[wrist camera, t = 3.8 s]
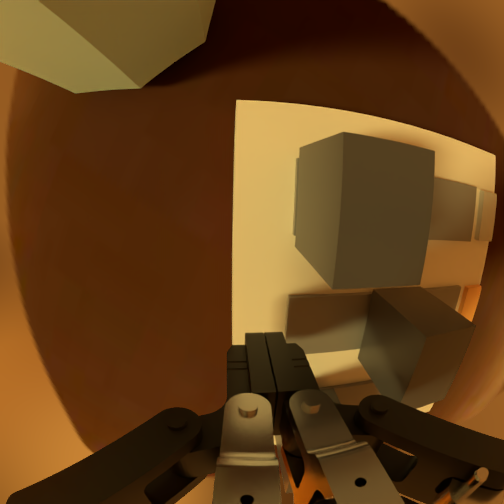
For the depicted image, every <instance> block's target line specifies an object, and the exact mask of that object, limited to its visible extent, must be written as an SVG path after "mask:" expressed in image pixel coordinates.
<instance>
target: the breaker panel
mask: <svg viewBox="0 0 504 504" xmlns="http://www.w3.org/2000/svg"><path fill="white" fill-rule="evenodd" d="M341 132H349V133H355V134H361V135H367V136H372V137H377V138H382V139H387V140H392V141H397V142H401V143H406V144H410V145H414V146H418V147H422V148H426V149H430V150H433V151H435V173H434V191H433V204H432V214H431V223H430V231H429V238H428V245H427V251H426V257H425V263H424V268H423V273H422V278H421V283H420V285H413V286H398V287H380V288H359V289H334V290H332V289H331V288H330V287H329V285H328V284H327V283H326V282H325V281H324V280H323V278H322V277H321V276H320V275H319V274H318V273H317V271H316V270H315V269H314V268H313V267H312V266H311V265H310V263H309V262H308V261H307V260H306V259H305V258H304V257H303V255H302V254H301V253H300V252H299V251H298V250H297V249H296V247H295V237H296V220H297V201H298V178H299V148H300V147H303V146H305V145H308V144H311V143H313V142H316V141H319V140H322V139H324V138H327V137H330V136H333V135H336V134H338V133H341ZM494 191H495V155H493V154H491V153H488V152H486V151H484V150H481V149H479V148H476V147H474V146H471V145H469V144H466V143H464V142H461V141H458V140H455V139H453V138H450V137H447V136H444V135H441V134H438V133H435V132H432V131H428V130H425V129H422V128H418V127H415V126H411V125H408V124H404V123H400V122H396V121H392V120H388V119H384V118H379V117H375V116H370V115H365V114H360V113H355V112H350V111H344V110H338V109H332V108H325V107H318V106H310V105H302V104H292V103H281V102H268V101H249V100H237V101H236V112H235V141H234V178H233V233H232V345H245V333H255V332H263V333H264V332H283V334H284V337H285V340H286V343H296V344H297V345H299V346H300V347H301V348H302V349H303V350H304V352H305V355H306V357H307V360H308V362H309V364H310V367H311V369H312V372H313V374H314V377H315V379H316V382H317V384H318V386H319V389H320V390H321V389H329V388H334V390H335V392H336V394H337V396H338V399H339V401H340V403H341V404H344V405H359V403H360V402H361V400H362V399H363V398H365V397H367V396H370V395H381V394H380V392H379V391H378V389H377V388H376V386H375V384H374V383H373V381H372V380H371V378H370V377H369V375H368V374H367V372H366V370H365V369H364V367H363V366H362V364H361V363H360V361H359V360H358V354H359V351H360V347H361V343H362V339H363V334H364V330H365V326H366V321H367V317H368V312H369V307H370V302H371V297H372V292H373V289H385V288H401V287H416V286H421V287H422V288H424V289H425V290H427V291H428V292H429V293H431V294H432V295H434V296H435V297H437V298H438V299H440V300H441V301H443V302H444V303H445V304H447V305H448V306H450V307H451V308H453V309H454V310H455V311H457V312H458V313H460V314H461V315H462V316H464V317H465V318H467V319H468V320H469V321H471V322H472V319H473V316H474V313H475V310H476V306H477V303H478V300H479V296H480V292H481V289H482V286H480V282H481V278H482V273H483V269H484V264H485V259H486V254H487V249H488V243H489V241H492V236H493V229H494V221H495V213H496V202H497V194H494ZM433 404H434V403H432V404H429V405H426V406H423V407H420V408H417V410H420V411H422V412H428V411H430V409H431V407H432V405H433ZM274 445H276V439H275V436H274Z"/></svg>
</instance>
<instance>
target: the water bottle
mask: <svg viewBox="0 0 504 504" xmlns="http://www.w3.org/2000/svg"><path fill="white" fill-rule="evenodd" d="M215 2H216V0H0V62H2V63H5V64H7V65H10V66H12V67H15V68H18V69H20V70H23V71H25V72H27V73H30V74H32V75H35V76H37V77H40V78H42V79H44V80H47V81H49V82H51V83H53V84H56V85H58V86H60V87H62V88H65V89H67V90H69V91H71V92H73V93H83V92H92V91H103V90H116V89H137V88H142V87H143V86H144V85H145V84H147V83H148V82H149V81H150V80H152V79H153V78H154V77H155V76H157V75H158V74H159V73H161V72H162V71H163V70H165V69H166V68H167V67H169V66H170V65H171V64H173V63H174V62H176V61H177V60H178V59H180V58H181V57H183V56H184V55H186V54H187V53H189V52H190V51H192V50H193V49H195V48H196V47H198V46H199V45H201V44H202V43H204V42H205V41H206V37H207V33H208V28H209V24H210V20H211V16H212V13H213V9H214V5H215Z"/></svg>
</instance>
